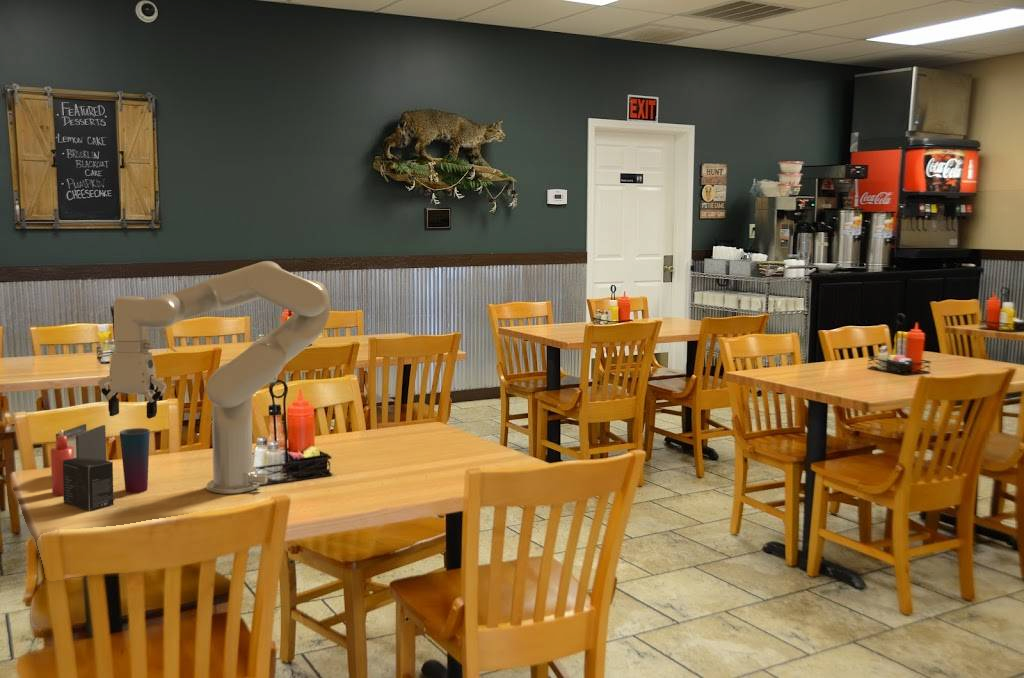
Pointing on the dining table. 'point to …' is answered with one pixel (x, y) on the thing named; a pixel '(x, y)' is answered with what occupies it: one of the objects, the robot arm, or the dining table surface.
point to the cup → (135, 458)
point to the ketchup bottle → (59, 463)
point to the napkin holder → (87, 441)
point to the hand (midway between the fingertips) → (132, 416)
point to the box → (88, 482)
